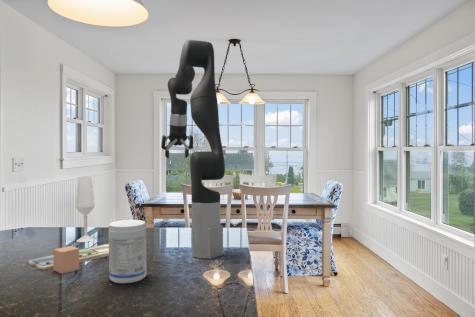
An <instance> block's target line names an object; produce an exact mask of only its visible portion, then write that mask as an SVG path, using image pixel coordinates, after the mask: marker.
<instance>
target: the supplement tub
mask: <svg viewBox="0 0 475 317" xmlns="http://www.w3.org/2000/svg"><path fill="white" fill-rule="evenodd" d="M146 225H147V224H146V221H145V220H140V219H124V220H117V221H113V222H110V223H109V224H108V244H109V256H108V273H109V279H110V281H111V282H113V283H116V284H132V283H136V282H139V281H142V280H143V279H145V277H146V276H147V226H146Z"/></svg>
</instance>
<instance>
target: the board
mask: <svg viewBox="0 0 475 317" xmlns="http://www.w3.org/2000/svg"><path fill="white" fill-rule="evenodd" d="M106 257H109V243H104V244H99V245H95V246H91V247H85V248H79V264H80V263H83V262H87V261H91V260H95V259H101V258H106ZM26 264H28V265H30V266H33V267H34V268H36V269H38V270H39V269H40V270H42V271H44V272H45V271H49V270H54V265H53V254H51V255H47V256H40V257H37V258H33V259H31V258H30V259H27V260H26Z"/></svg>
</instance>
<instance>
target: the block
mask: <svg viewBox="0 0 475 317" xmlns="http://www.w3.org/2000/svg"><path fill="white" fill-rule="evenodd" d="M79 250H80V248H78V247H74V246H71V245H68V246H64V247H59V248H54V249H53V250H52V251H53V252H52V253H53V254H52V255H53V265H54V269H53V271H54V272H57V273H59V274H61V275H63V274H67V273H70V272H71V273H72V272H75V271H78V270H80V263H79Z"/></svg>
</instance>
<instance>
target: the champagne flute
mask: <svg viewBox="0 0 475 317" xmlns="http://www.w3.org/2000/svg"><path fill="white" fill-rule="evenodd" d="M76 185H77V188H76V198H75V208H76V210H77V212H79V213H80V214H82V215H83V235H82V236H81V237H80V238H78V239H77V240H76V242H77V243H87V242H88V241H89V242H93V241H96V238H94V237H92V236H90V235H89V234H88V215H89V214H90V213H91V212H92V211H93V209H94V208H95V197H94V196H95V195H94V186H93V179H92V176H78V177H77V184H76Z"/></svg>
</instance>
